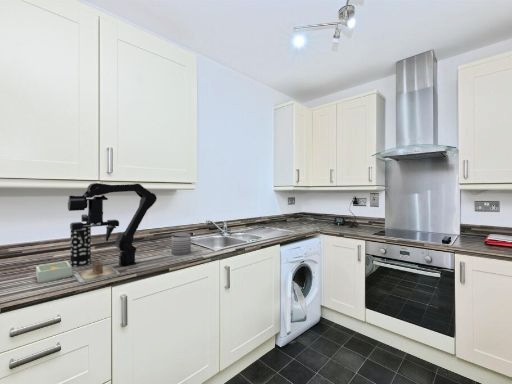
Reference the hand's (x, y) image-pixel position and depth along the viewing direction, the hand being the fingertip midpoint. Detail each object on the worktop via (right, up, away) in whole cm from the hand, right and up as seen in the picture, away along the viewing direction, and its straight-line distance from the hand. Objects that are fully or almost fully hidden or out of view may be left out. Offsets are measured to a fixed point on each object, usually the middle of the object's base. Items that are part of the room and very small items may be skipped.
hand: (95, 242), depth 115 cm
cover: (+5, -13, -6) cm, 15 cm away
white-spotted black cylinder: (-14, -13, +9) cm, 21 cm away
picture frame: (+5, -13, -6) cm, 15 cm away
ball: (-13, -11, -8) cm, 19 cm away
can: (+31, -13, +32) cm, 46 cm away
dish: (-13, -13, -8) cm, 20 cm away
